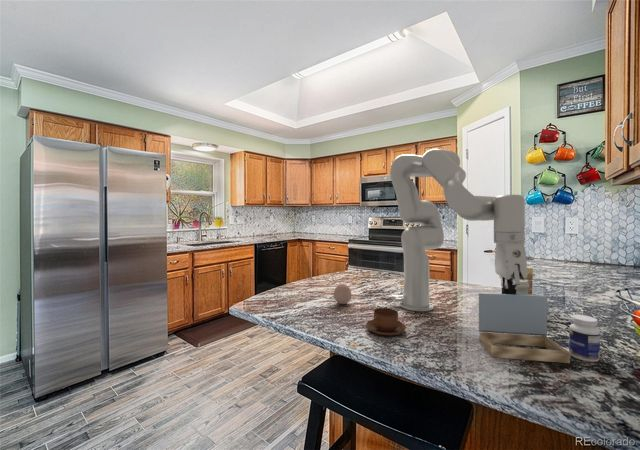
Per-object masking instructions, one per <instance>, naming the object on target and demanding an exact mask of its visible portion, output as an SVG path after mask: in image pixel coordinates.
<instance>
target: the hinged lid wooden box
mask: <svg viewBox="0 0 640 450" xmlns="http://www.w3.org/2000/svg"><path fill="white" fill-rule="evenodd" d="M478 336H479V337H478V338H479V339H478V341H479V343H480V344H481V345H482V346H483V347H484V348H485V350H486V352H488V353H489V355H490V356H491V357H492V358H499V359H511V360H513V359H514V360H525V361H526V360H527V361H537V362H538V361H539V362H552V363H564V364H570V363H571V354H570V352H569V350H567V349H565V348H564V347H563V346H561V345H560V344H558V343H557V342H556V341H555V340H553V339H551V338H550V337H548V335H547V336H538V335H522V334H506V333H490V332H479V331H478ZM495 344H500V345H495ZM501 345H502V346H501ZM505 345H516V346H526V347H516V346H505ZM527 346H528V347H529V348H528V347H527ZM531 347H542V349H541V348H531ZM543 347H545V348H546V349H545V348H544V349H543Z"/></svg>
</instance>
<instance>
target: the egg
mask: <svg viewBox="0 0 640 450" xmlns="http://www.w3.org/2000/svg"><path fill="white" fill-rule="evenodd" d="M333 298H334V300H335V301H336V302H337V303H338V304H339V305H346V304H347V303H349V302H350V301H351V299H352V291H351V288H350V287H349V286H348V285H347V283H346V284H345V283H339V284H338V285H336V287H335V288H334V291H333Z"/></svg>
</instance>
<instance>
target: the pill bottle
mask: <svg viewBox="0 0 640 450" xmlns="http://www.w3.org/2000/svg"><path fill="white" fill-rule="evenodd" d="M571 321H572V322H573V323H571V324H570V325H569V340H568V342H569V343H568V345H569V347H568V352H570V356H572V357H574V358H575V359H577V360H581V361H584V362H591V363H595V362H599V360H600V356H601V352H600V351H601V332H600V330H599V329H598V328H597V326H598V319H597V318H595V317H593V316H588V315H584V314H574V315H572V320H571Z"/></svg>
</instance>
